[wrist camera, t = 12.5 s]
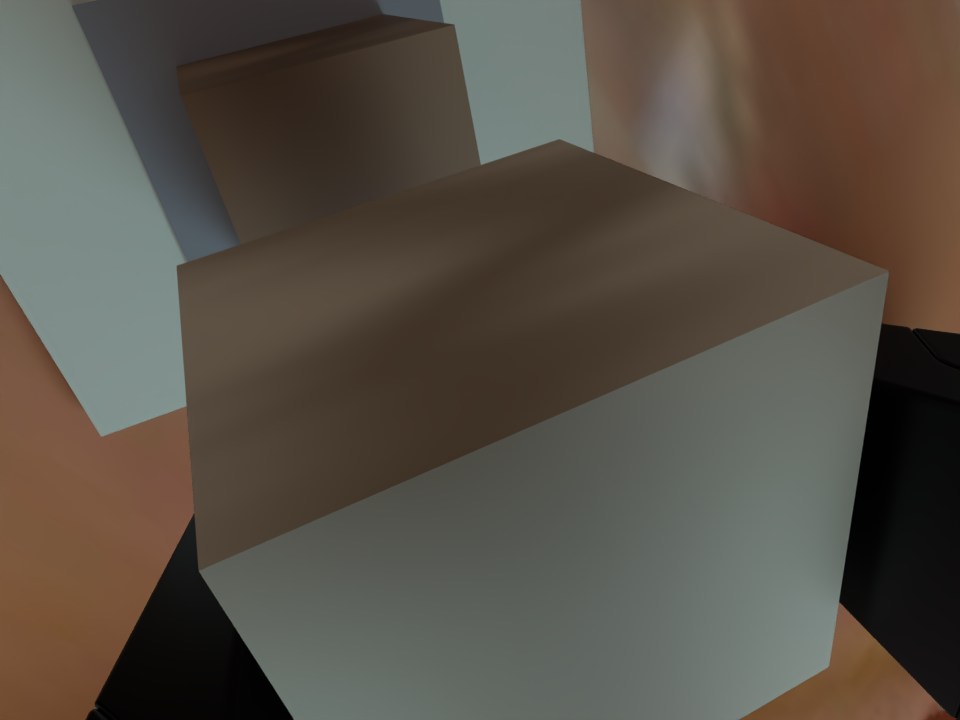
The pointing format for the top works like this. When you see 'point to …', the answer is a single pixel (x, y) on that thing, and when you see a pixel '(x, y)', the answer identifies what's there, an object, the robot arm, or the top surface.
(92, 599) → the top surface
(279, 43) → the walnut cube
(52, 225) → the board
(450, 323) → the maple cube
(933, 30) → the top surface
